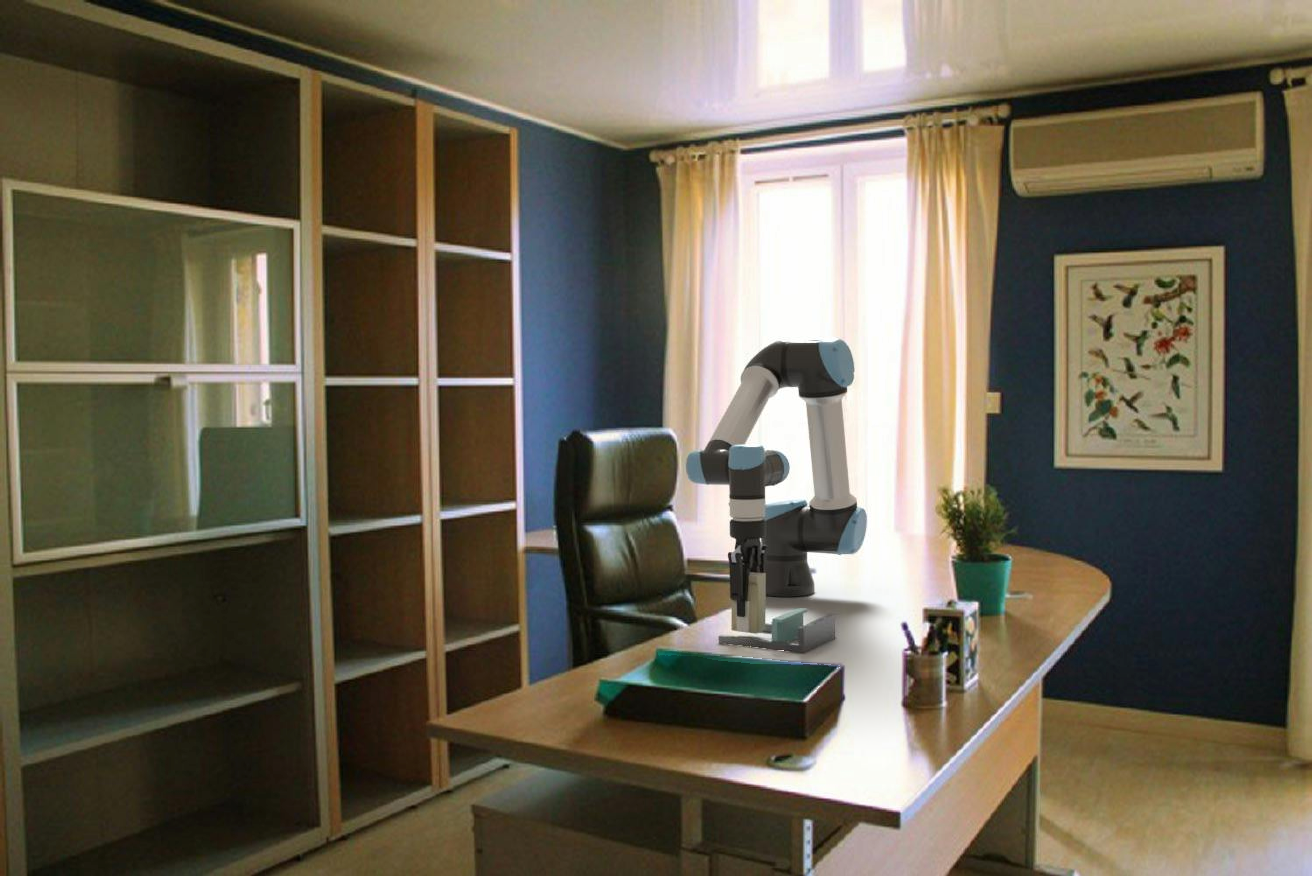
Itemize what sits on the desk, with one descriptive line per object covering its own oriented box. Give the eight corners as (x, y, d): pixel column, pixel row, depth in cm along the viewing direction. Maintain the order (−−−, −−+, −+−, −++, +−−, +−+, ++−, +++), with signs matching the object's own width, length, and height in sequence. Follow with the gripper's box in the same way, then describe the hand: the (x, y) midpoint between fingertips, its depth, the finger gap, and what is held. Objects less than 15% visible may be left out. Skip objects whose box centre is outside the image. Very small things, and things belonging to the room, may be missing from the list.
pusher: (791, 633, 238) (791, 607, 237) (807, 635, 236) (807, 608, 235) (765, 645, 227) (764, 618, 227) (781, 647, 225) (781, 619, 225)
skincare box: (730, 631, 236) (729, 573, 235) (740, 626, 240) (739, 570, 239) (758, 634, 233) (757, 576, 232) (767, 629, 237) (766, 572, 236)
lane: (753, 628, 244) (753, 606, 244) (835, 638, 234) (835, 614, 234) (718, 643, 231) (718, 619, 231) (804, 653, 221) (803, 628, 221)
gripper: (750, 513, 244) (752, 620, 245) (711, 522, 230) (712, 635, 231) (782, 515, 240) (783, 623, 241) (743, 524, 226) (745, 639, 227)
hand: (749, 629), depth 236 cm, fingers closed on skincare box, 4 cm apart
